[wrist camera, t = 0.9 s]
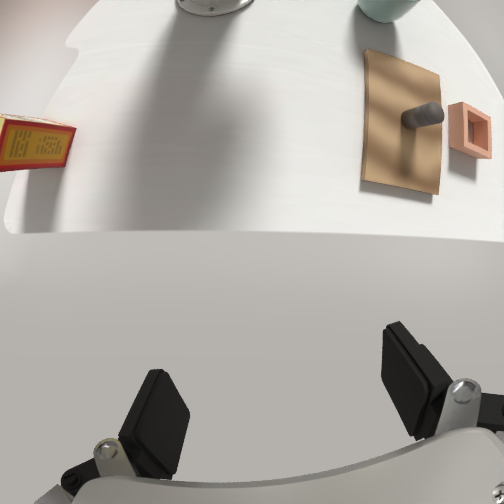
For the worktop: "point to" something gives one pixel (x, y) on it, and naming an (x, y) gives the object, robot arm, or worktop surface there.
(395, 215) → the worktop surface
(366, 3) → the cup
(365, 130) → the post board
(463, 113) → the collar
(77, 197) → the worktop surface
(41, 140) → the baking soda box
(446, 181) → the worktop surface
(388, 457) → the robot arm
